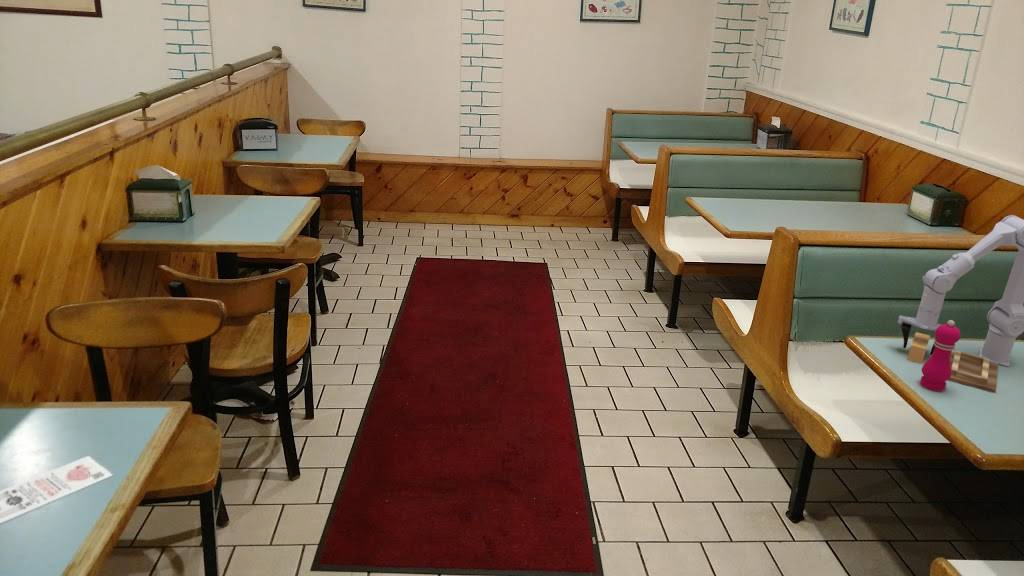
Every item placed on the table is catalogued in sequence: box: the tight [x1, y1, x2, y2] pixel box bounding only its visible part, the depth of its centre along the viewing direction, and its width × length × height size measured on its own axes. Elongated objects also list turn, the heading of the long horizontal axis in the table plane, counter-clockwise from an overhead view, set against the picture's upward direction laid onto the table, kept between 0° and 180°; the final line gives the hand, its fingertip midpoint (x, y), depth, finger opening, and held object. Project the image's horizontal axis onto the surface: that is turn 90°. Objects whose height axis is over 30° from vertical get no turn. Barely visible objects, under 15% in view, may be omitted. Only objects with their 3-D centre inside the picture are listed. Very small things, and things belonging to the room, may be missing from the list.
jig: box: [948, 350, 999, 394], centre depth 220 cm, size 20×14×2 cm
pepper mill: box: [919, 319, 961, 392], centre depth 208 cm, size 7×7×20 cm
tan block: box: [906, 331, 931, 364], centre depth 229 cm, size 12×4×5 cm, turn 148°
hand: (918, 350), depth 230 cm, fingers open, 7 cm apart
